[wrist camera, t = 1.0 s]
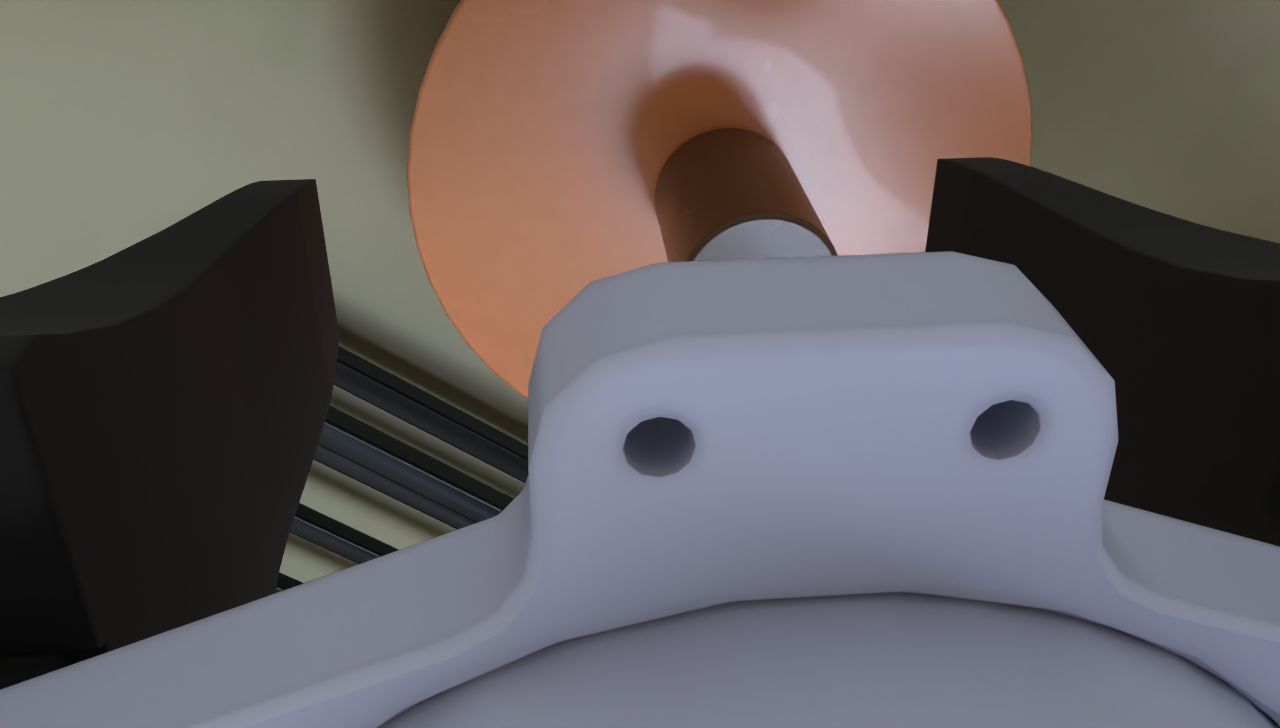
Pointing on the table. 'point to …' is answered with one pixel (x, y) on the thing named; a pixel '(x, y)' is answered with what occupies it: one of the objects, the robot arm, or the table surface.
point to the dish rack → (404, 461)
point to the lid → (688, 141)
